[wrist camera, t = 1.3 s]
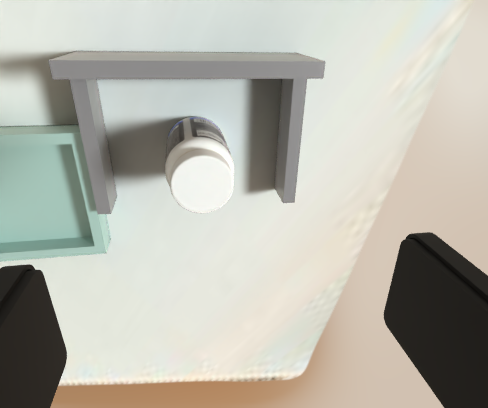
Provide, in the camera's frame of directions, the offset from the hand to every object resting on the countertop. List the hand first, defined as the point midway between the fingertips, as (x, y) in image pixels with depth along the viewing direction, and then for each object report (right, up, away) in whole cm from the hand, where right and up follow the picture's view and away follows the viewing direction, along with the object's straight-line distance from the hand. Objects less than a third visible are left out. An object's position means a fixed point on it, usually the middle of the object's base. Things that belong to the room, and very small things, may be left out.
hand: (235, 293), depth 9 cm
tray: (-17, +3, +19) cm, 26 cm away
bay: (-4, +8, +19) cm, 21 cm away
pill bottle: (-4, +7, +20) cm, 21 cm away
